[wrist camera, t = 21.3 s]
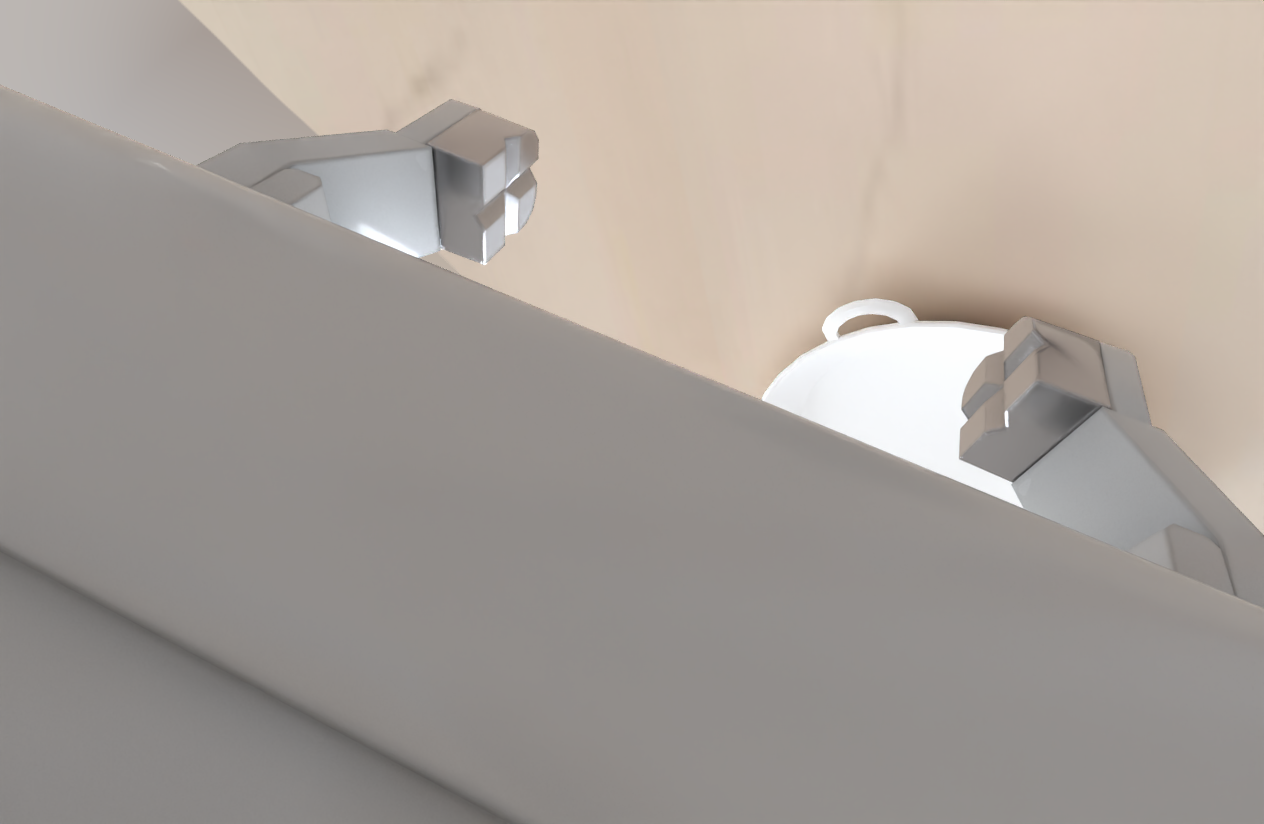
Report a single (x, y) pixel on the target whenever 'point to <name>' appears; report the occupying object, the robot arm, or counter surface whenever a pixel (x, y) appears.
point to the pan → (895, 387)
